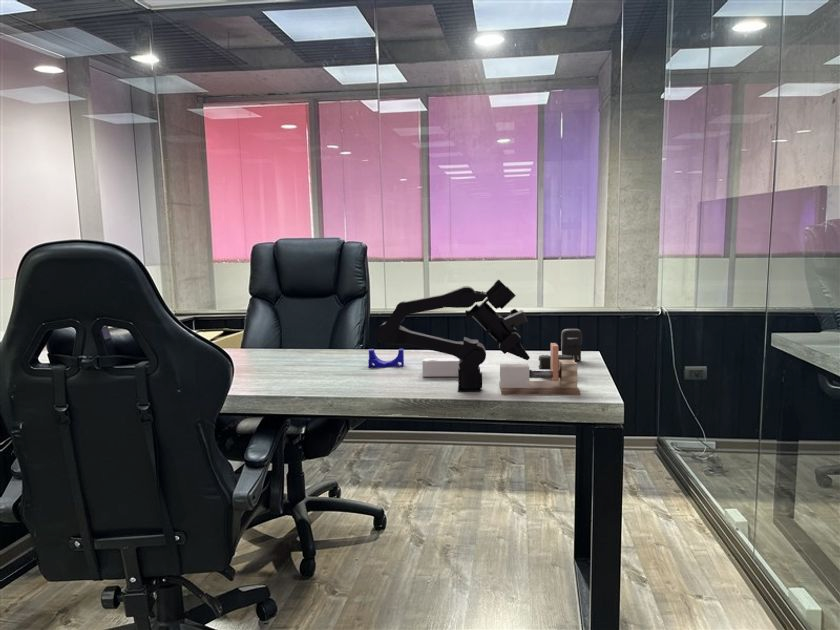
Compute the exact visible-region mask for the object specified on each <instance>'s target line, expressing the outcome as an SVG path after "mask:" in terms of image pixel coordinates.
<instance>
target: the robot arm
mask: <svg viewBox="0 0 840 630" xmlns="http://www.w3.org/2000/svg"><path fill="white" fill-rule="evenodd" d="M515 297H517V295H516V294H515V293H514V292H513V291H512V290H511V289H510V288H509V286H507V285H505V284H504V283H503V282H502V281H501V280H500V279H497V280H496V281H495V282H494V283H493V285H492V286H491V287H490V288H489V289H488V290H486V292H485V291H483V290H482V291H478V290H475V289H474V288H473V287H472V286H469V285H465V286H462V287H459V288H456V289H454V290H451V291H449V292H446V293H444V294H439V295H433V296H428V297H422V298H418V299H411V300H407V301H405V300H403V301H400V302H399V303H398V304H396V306H395V309H394V310H393V312H391V314H390V316H389V317H388V318H387V320H386V321H384V322H383V323H382V324H381V325H379V326H378V327H377V330H376V332H375V336H376V339H377V340H378V342H379V343H381V344H383V345H408V346H413V347H417V348H421V349H425V350H429V351H434V352H438V353H443V354H445V355H446V354H447V355H450V356H454V358H459V367H458V376H457V378H458V379H457V381H458V386H457V391H458V392H481V389H483V372H482V371H481V367H480V365H482V364H483V363H484V362H485V361H486V359H487V353H486V347H485V346H484V344H483V343H481V342H479V340H478V339H471V338H469V337H466V336H464V337H463V341H455V340H451V339H447V338H443V337H439V336H434V335H429V334H425V333H421V332H419V331H418V332H417V331H413V330H410V329H408V328H406V327H405V326H402V325H401V324H402V323H403V321H404V320H405V319H406V316H408V315H412V314H419V313H422V312H428V311H433V310H434V311H435V310H439V309H444V308H453V309H454V308H455V309H457V308H458V309H459V308H460V309H466V308H467V309H468V308H470V307H472V308H471V309H470V310H465V311H464V313H465V320H466V321H467V322H468V321H469V320H470V319H472V318H473V319H474V320H475V321H476V322H477V323H478V324H479V325H480V326H481V327H482V328H483V329H484V330H485V332H486V333H487V334H488V335H490V336H491V337H492V338H493V339H494V340H495V342H496V343H497V344H498V347H499V350H500V351H501V353H503V354H504V355H505V354H507V353H508V354H511V355H514V356H515V357H518V358H521V359H523V360H525V361H529V360H530V355H529V354H528V353H527V351H526V349H525V348H524V347H523V345H522V344H521V339H522V338H521V335H520V333H519V332H518V333H517V330H518V329H517V328H516V327H518V326H520V325H522V324H526V323H528V319H527V316H526V313H525V312H524V310H522V309H520V310H519V311H518V310H517V309H516V308H513V309H511V310H510V313H509V315H508V316H506V317H504V316H503V315H501V314H498V313H497V312H496V311H495V310H498V309H501V310H503V309H504V308H505V307H506V306H507V305H508V304H509V303H510V302H511V301H512V300H514V298H515ZM479 302H482V303H481V304H478V303H479ZM475 303H476V304H475ZM489 303H490V304H489ZM492 307H493V308H494V309H495V310H494V309H493V308H492Z"/></svg>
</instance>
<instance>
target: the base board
mask: <svg viewBox="0 0 840 630" xmlns="http://www.w3.org/2000/svg"><path fill="white" fill-rule="evenodd" d="M499 389H500V392H501V395H502V394H545V396H546V394H550V395H551V394H564V395H563V396H567V395H574V396H575V395H576V396H577V395H578V396H579V395H581V390H580V389H579V387H578V386H577V388H561V386H560V385H559V380H558V381H553V380H529V388H501V386H500V385H499ZM565 394H566V395H565Z"/></svg>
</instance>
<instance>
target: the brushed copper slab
mask: <svg viewBox="0 0 840 630" xmlns="http://www.w3.org/2000/svg"><path fill="white" fill-rule="evenodd" d="M558 355H559V345H558V343H557V342H550V356H551V361H550V370H540V369H529V379H551V381H559V378H561V370H558Z"/></svg>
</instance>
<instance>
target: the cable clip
mask: <svg viewBox="0 0 840 630" xmlns="http://www.w3.org/2000/svg"><path fill="white" fill-rule="evenodd" d="M404 351H405V349H404V348H399V349H398V352H397V355H396V357H395V358H393V359H392V360H389V361H388V360H387V361H386V360H382V359H381V358H379V357H378V356H377V354H376V352H375V349H374V348H370V349H369V350H368V359H367V361H368V363H367V364H368V369H370V368H371V369H373V368H375V369H378V368H380V369H381V368H383V369H384V368H385V369H386V368H387V367H389V368H393V367H394V368H395V367H399V368H401V367H404V365H405V359H404V358H405V355H404V353H405V352H404Z"/></svg>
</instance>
